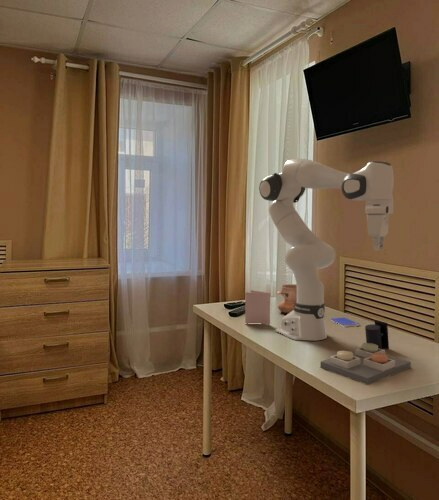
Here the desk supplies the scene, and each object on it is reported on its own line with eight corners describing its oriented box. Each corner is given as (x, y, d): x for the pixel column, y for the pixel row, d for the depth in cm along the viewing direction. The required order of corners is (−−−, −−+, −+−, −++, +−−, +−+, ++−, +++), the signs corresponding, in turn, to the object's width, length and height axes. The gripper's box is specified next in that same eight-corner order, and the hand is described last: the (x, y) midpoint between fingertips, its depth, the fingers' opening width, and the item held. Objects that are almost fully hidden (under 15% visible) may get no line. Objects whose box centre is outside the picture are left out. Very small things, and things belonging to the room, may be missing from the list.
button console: (320, 367, 141) (320, 355, 141) (363, 353, 156) (364, 342, 155) (367, 384, 127) (367, 371, 127) (410, 367, 141) (410, 355, 141)
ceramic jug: (279, 316, 212) (280, 288, 211) (273, 309, 227) (273, 283, 225) (314, 316, 214) (315, 288, 213) (305, 309, 229) (306, 283, 227)
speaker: (380, 343, 166) (379, 318, 165) (389, 349, 161) (388, 323, 159) (362, 347, 165) (361, 321, 163) (371, 352, 159) (370, 326, 157)
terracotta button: (367, 360, 137) (368, 354, 137) (376, 357, 140) (376, 351, 140) (381, 365, 133) (381, 359, 133) (390, 361, 136) (390, 355, 136)
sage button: (359, 350, 148) (359, 344, 148) (368, 347, 151) (368, 342, 151) (372, 354, 144) (372, 348, 144) (380, 351, 147) (381, 345, 147)
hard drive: (360, 323, 195) (345, 317, 207) (344, 324, 192) (330, 318, 204) (359, 326, 195) (345, 320, 207) (344, 328, 193) (330, 321, 204)
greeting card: (271, 324, 196) (271, 293, 195) (261, 328, 191) (261, 295, 189) (251, 320, 204) (252, 289, 203) (241, 323, 199) (241, 292, 197)
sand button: (334, 358, 140) (334, 352, 140) (343, 355, 143) (343, 349, 143) (346, 362, 136) (346, 356, 136) (356, 359, 139) (356, 353, 139)
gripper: (374, 209, 155) (373, 247, 156) (364, 208, 137) (363, 251, 138) (393, 209, 152) (392, 247, 153) (384, 208, 134) (384, 251, 135)
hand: (378, 249), depth 145 cm, fingers open, 8 cm apart
